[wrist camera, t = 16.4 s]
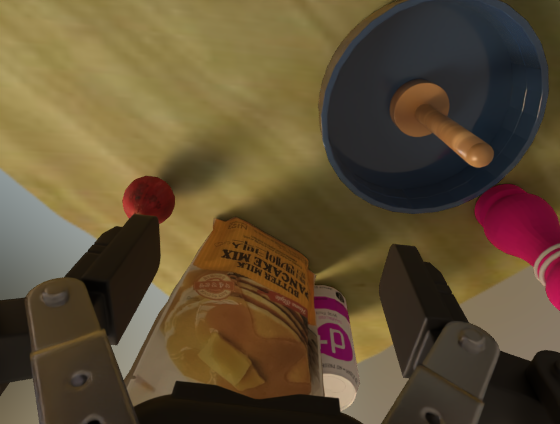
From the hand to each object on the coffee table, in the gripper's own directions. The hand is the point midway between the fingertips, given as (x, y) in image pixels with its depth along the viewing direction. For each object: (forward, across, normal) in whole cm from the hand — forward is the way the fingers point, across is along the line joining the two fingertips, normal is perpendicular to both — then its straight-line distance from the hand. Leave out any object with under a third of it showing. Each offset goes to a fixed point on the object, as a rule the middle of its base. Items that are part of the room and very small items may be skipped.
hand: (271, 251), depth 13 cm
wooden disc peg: (+32, -14, 0) cm, 34 cm away
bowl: (+32, -14, 0) cm, 35 cm away
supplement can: (+32, -8, +30) cm, 45 cm away
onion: (+32, +15, +14) cm, 38 cm away
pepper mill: (+32, -28, +11) cm, 44 cm away
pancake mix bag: (+32, +1, +22) cm, 39 cm away
